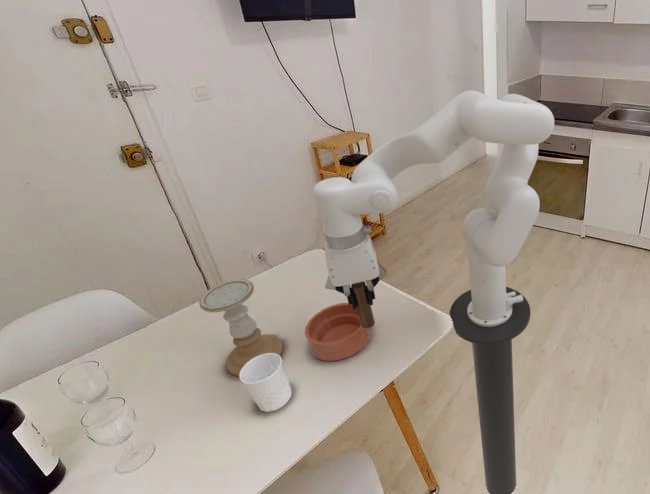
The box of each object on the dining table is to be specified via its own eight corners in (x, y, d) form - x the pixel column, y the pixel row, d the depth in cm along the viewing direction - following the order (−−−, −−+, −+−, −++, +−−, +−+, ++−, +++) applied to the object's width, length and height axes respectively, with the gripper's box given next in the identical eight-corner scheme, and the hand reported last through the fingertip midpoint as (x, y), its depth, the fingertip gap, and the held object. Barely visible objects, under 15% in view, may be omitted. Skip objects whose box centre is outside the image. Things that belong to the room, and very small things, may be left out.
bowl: (369, 313, 113) (365, 297, 110) (373, 352, 101) (368, 334, 98) (313, 328, 109) (307, 311, 106) (309, 369, 97) (302, 352, 94)
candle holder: (260, 380, 94) (228, 315, 84) (215, 372, 97) (179, 308, 87) (294, 341, 105) (270, 279, 95) (253, 334, 107) (225, 273, 97)
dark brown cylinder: (374, 318, 99) (364, 279, 93) (375, 326, 96) (365, 286, 90) (361, 321, 98) (350, 282, 92) (362, 330, 95) (351, 290, 89)
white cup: (257, 390, 92) (241, 360, 87) (295, 378, 95) (282, 348, 90) (253, 420, 86) (236, 389, 81) (294, 406, 88) (280, 375, 83)
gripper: (384, 220, 90) (397, 285, 99) (304, 234, 86) (325, 301, 95) (387, 237, 84) (401, 304, 93) (301, 253, 79) (324, 323, 88)
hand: (362, 302), depth 94 cm, fingers closed on dark brown cylinder, 3 cm apart
